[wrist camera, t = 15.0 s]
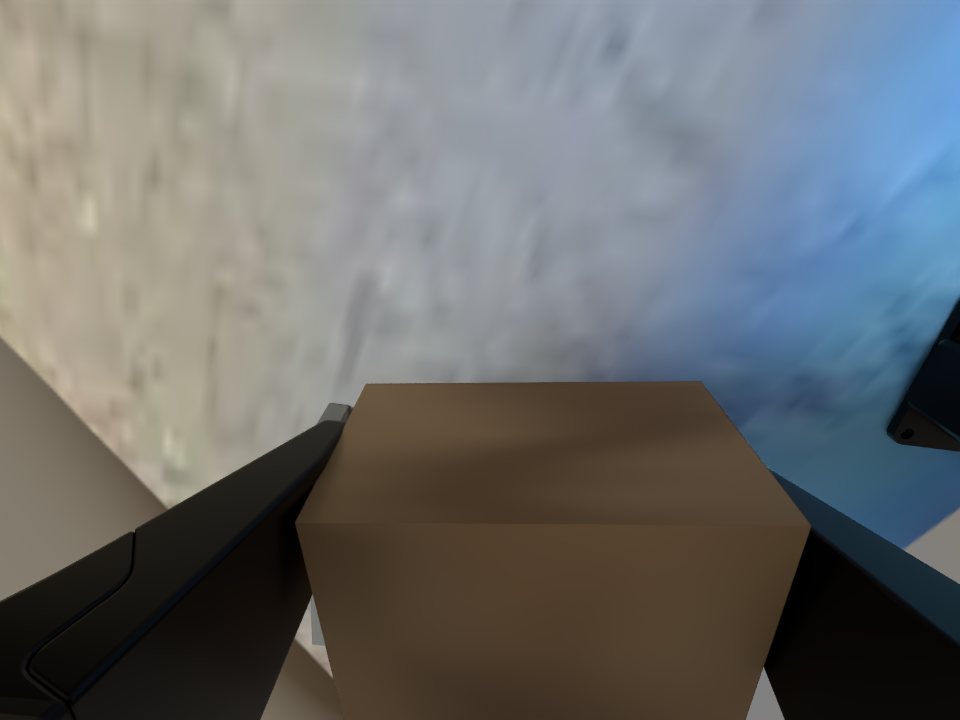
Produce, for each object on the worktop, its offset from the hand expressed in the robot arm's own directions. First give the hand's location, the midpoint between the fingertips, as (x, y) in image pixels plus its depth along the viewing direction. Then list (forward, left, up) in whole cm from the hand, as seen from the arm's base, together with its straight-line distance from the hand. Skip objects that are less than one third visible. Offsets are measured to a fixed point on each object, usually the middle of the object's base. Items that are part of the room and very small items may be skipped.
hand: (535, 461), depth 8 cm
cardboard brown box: (0, +1, -1) cm, 2 cm away
